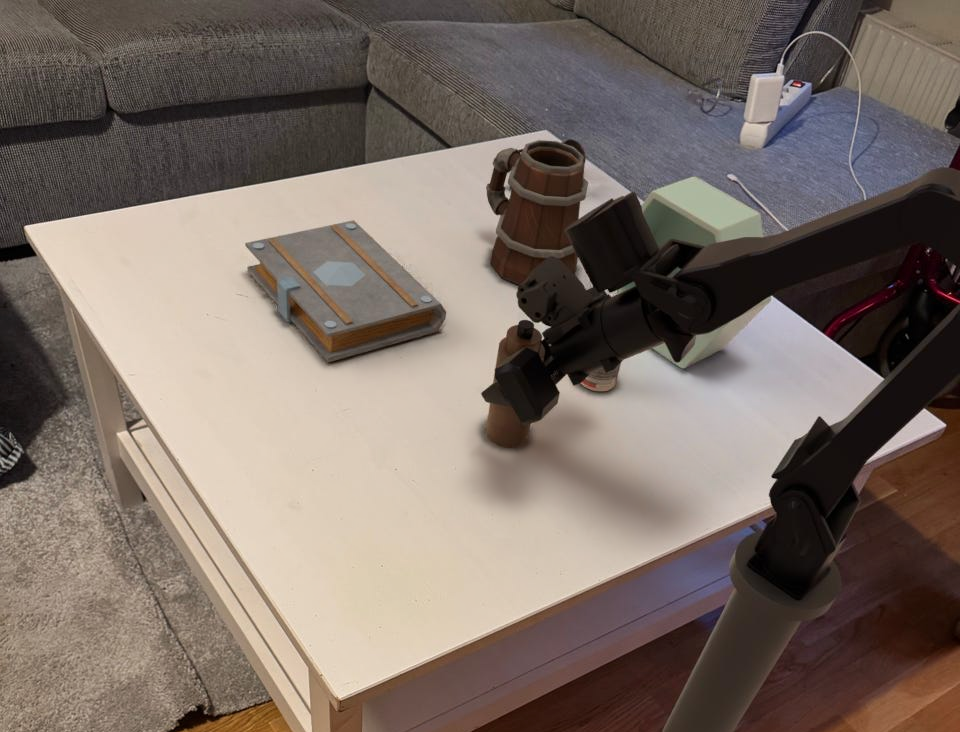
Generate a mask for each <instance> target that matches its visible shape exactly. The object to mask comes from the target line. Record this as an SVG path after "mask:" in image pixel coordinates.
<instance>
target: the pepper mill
mask: <svg viewBox="0 0 960 732" xmlns="http://www.w3.org/2000/svg"><path fill="white" fill-rule="evenodd" d="M542 340H543V335H542V333H541V332H540V331H539V330H538V329H537V328H536V327H535V323H534V322H533V321H532V320H529V319H522V320H520V321H518V324H514V325H512V326H510V327H509V328H508V329H507V331H506V335H505V337H503V338H502V339H501V340H500V341H499V343H498V348H497V354H496V362H495V368H496V367H497V366H499V365H500V364H501V363H502V362H503V361H504V360H505V359H506V358H508V357H509V356H510V355H511V354H512V353H513V352H517V351H518V350H521V349H523V348H525V347H527V348H530V349H532V350H534V351H536V352H538V354H539V355H540V357H541V359H542V361H544V356H545V349H544V346H543V345H542V344H541V341H542ZM495 368H494V369H495ZM492 381H493V382H492V384H493V383H494V382H496V381H497V380H496V378H495V373H494V375H493V380H492ZM487 414H488V415H487V420H486V426H485V434H486V437H487V439H489V441H491V442H492V443H493V444H495V445H497V446H499V447H504V448H517V447H521V446H523V445H524V444H525V443H526V442H527V441H528V440H529V436H530V431H531V430H530V429H531V425H532V424H529V425H525V424H522V423H521V422H520V420H519V418H518V417H517V415H516V413H515V411H514V410H513V408H509V407H505V406H500V405H496V404H492V403H489V407H488V412H487Z"/></svg>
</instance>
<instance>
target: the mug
mask: <svg viewBox="0 0 960 732" xmlns="http://www.w3.org/2000/svg"><path fill="white" fill-rule="evenodd" d="M522 149H523V150H522V152H520V151H519V150H520V149H518V148H513V147H508V148H504V149H501V150H500V151H499V152H498V153H497V154H496V156H495V157H494V158H493V161H492V166H493V169H492V172H491V176H490V181H489V183H487V184H486V187H485V188H486V197H487V202H488V204H489V206H490V208H491V210H492V212H493V214H494V215H496V216H499V219H498V221H497V225H496V228H495V234H496V238H495V241H494V244H493V247H492V251H491V255H490V263H489V264H490V265H491V266H492V268H493V269H494V270H495V271H496V272H497V273H498V275H500V277H501V278H502V279H504V280H507V281H508V282H512V283H514V284H517V285H518V286H519V285H521V284H522V283H523V282H524V281H525V280H526V279H527V277H528V276H529V275H530V273H531V272H532V271H533V269H534V268H536V267H537V266H538V265H539V264H541V263H542V262H543V261H544V260H546V259H547V258H548V257H550V256H554V257H557V258H558V259H559V260H561V261H562V262H563V263H564V265H565V266H566V267H567V268H568V269H569V270H570V271H571V272H572V273H573V274H574V275H575V274H576V269H577V265H578V260H579V258H578V256H577V254H576V252H575V250H574V248H573V246H572V244H571V242H570V240H569V238H568V236H567V234H566V232H565V229H566V228H567V227H568V226H570V225H571V224H572V223H574V222H575V221H577V220H578V219H580V209H581V202H583V201H585V200H586V197H587V192H588V187H589V182H588V181H589V180H587V179H586V178H585V177H584V175H585V165H586V161H585V162H584V161H583V158H584V156H583V155H582V154H581V153H579V152H578V151H577V150H576V149H575V148H574V147H572V146H569V145H566V144H563V143H561V142H560V141H558V140H547V139H546V140H544V139H537V140H535V141H531V142H528V143H525V145H524V147H523V148H522ZM508 173H509V174H508ZM507 176H508V179H507ZM506 179H507V185H508V187H509V188H510V187H511V188H512V189H511V188H510V189H511V192H510V195H509V197H507V196H506V186H505V183H506ZM575 276H576V275H575Z"/></svg>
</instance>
